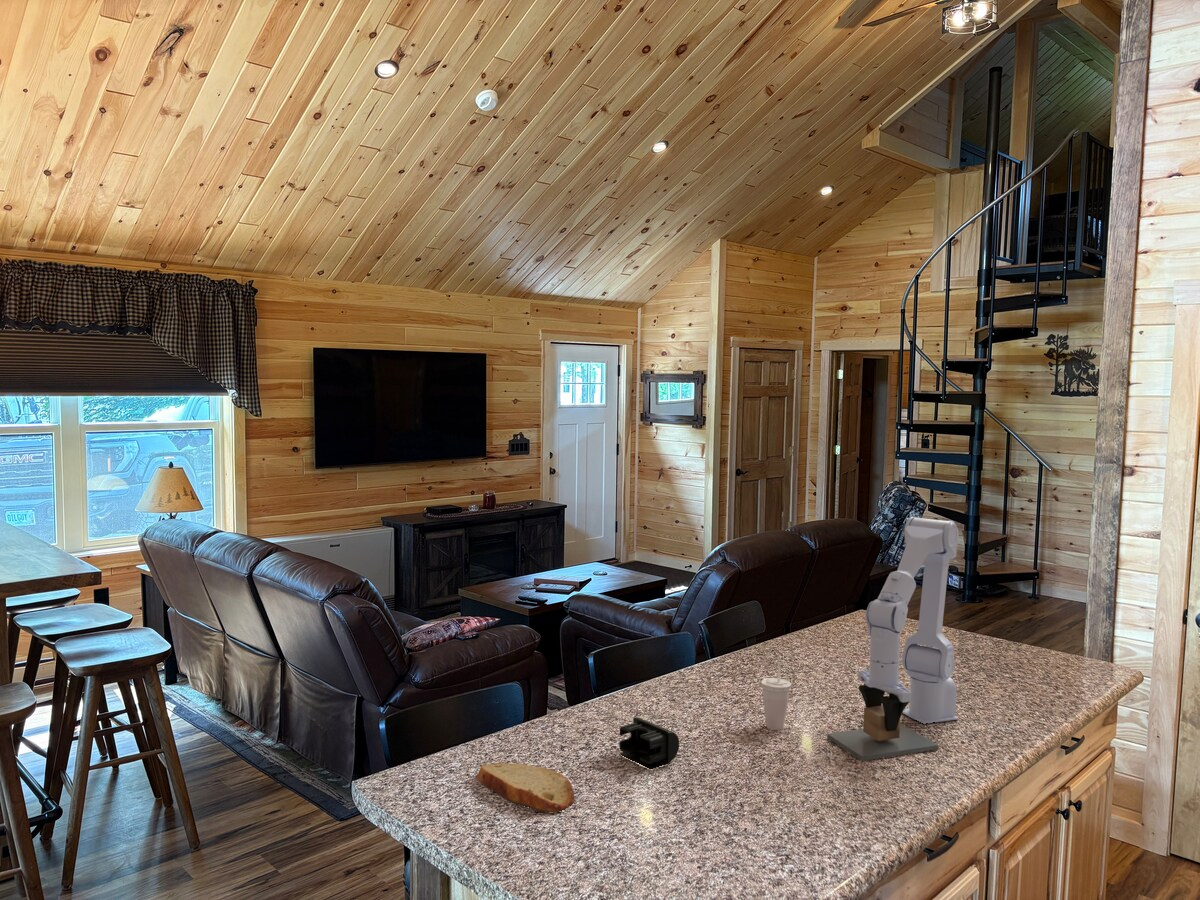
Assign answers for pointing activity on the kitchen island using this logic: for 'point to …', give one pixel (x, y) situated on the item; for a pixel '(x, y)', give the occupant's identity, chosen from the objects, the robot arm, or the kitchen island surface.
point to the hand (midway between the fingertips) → (882, 725)
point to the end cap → (648, 743)
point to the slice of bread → (528, 786)
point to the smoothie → (775, 700)
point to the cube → (878, 724)
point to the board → (881, 744)
